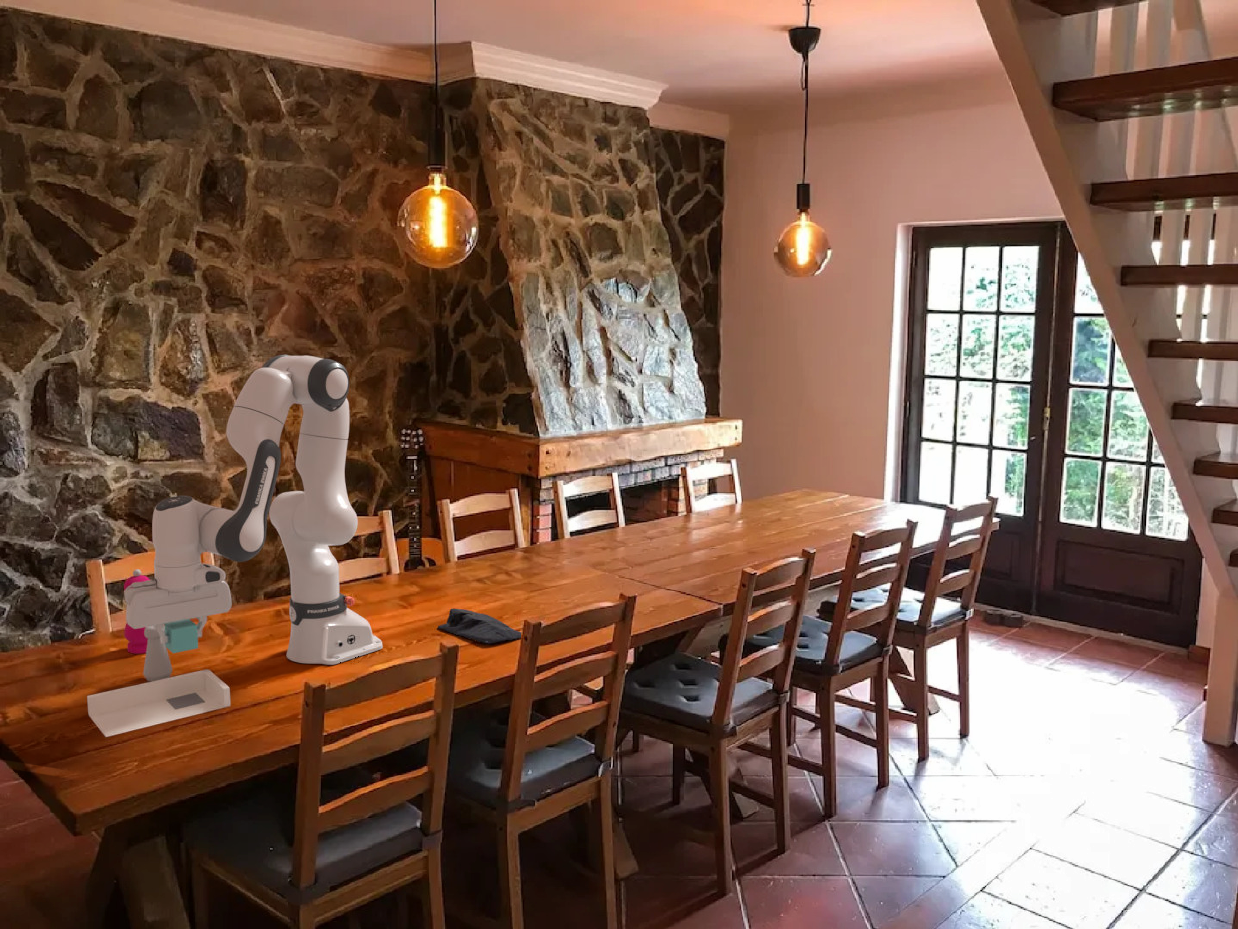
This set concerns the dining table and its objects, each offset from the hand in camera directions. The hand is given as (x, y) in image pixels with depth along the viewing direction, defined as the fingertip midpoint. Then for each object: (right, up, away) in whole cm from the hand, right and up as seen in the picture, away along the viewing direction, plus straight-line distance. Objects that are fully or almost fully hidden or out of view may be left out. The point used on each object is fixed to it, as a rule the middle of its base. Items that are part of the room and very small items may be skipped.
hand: (181, 640), depth 212 cm
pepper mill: (-24, -8, +34) cm, 43 cm away
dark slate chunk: (+56, -7, +51) cm, 76 cm away
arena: (-3, -15, -2) cm, 16 cm away
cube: (0, -2, 0) cm, 2 cm away
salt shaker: (-12, -12, +15) cm, 23 cm away
